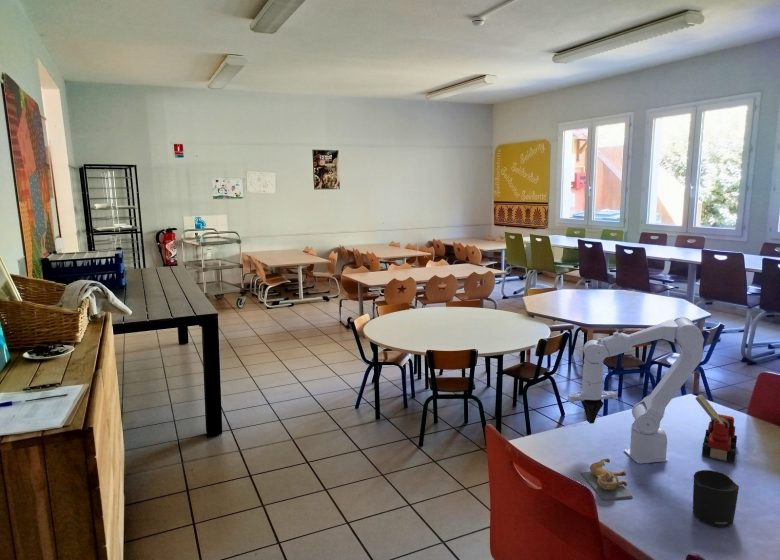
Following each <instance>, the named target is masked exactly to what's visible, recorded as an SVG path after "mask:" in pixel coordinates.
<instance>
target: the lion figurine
mask: <svg viewBox="0 0 780 560" xmlns="http://www.w3.org/2000/svg"><path fill="white" fill-rule="evenodd" d="M610 460H611V459H610V458H603V459H600V461H597V462H593V463H592V464H591V465H590V466H589V470H590V471H591V473H592V474H593V475H594V476H596V477H597V478H598V480H597V483H598V485H599V486H600V487H601V488H603V489H605V490H606V489H608V490H612V489H616V487H618V486H619V485H623V486H624V487H628V482H627V481H626V480H622V481H619V478H618V477H626V476H627V472H626V471H625V470H623V471H619V472H616V471H610V470H608V469H604V468H603V466H606V464H605V462H606V463H609V464H610V462H611V461H610Z"/></svg>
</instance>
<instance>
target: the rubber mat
mask: <svg viewBox="0 0 780 560" xmlns="http://www.w3.org/2000/svg"><path fill="white" fill-rule="evenodd" d="M580 475H581V476H582V477H583V479H584V480H585V481H586V482H587V484H589V485H590V487H591V488H592V489H593V490H594V491H595V492H596V494H598V496H599V497H600V498H601V499H602V500H603V501H612V500H623V499H632V498H633V494H632V493H631V492H630V491H629V490H628V489H626V486H624V485H619V486H618V487H616V489H612V490H608V489H606V490H605V489H603V488H601V487H600V486H599V485H598V483H597V480H598V478H597V477H596V476H594V475H593V474H592V473H591V470H590V471H581V472H580Z"/></svg>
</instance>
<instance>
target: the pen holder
mask: <svg viewBox="0 0 780 560" xmlns="http://www.w3.org/2000/svg"><path fill="white" fill-rule="evenodd" d="M739 488H740V486H739V484H737V483H736V482H735V481H734V480H732V479H731V477H729V476H728V475H727V474H725V473H722V472H720V471H716V470H713V469H712V470H709V469H702V470H697V471H696V472H695V473H694V474H693V489H692V513H693V515H694V517H696V519H697V520H698V521H700V522H701V523H703V524H706V525H708V526H711V527H715V528H728V527H730V526H732V524H733V523H734V521H735V514H736V508H737V501H738V497H739V496H738V494H739Z"/></svg>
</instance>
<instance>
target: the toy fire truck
mask: <svg viewBox="0 0 780 560" xmlns="http://www.w3.org/2000/svg"><path fill="white" fill-rule="evenodd" d="M695 400H696V402H697V403H698V404H699V405H700V406H701V408H702V409H703V410H704V412H706V414H707V415H708V416H709V417H710V421H709V423H708V427H707V429H706V430H705V434H704V438H703V443H702V448H701V449H702V450H701V456H702V457H707V458H712V459H716V460H720V461H724V462H725V461H726V462H727V463H733V464H734V463H735V461H736V452H737V440H738V436H737V435H735V433H736V426H735V418H734V417H733V416H732V415H731V416H730V415H724V414H719V413H717V411H716V410H715V409H714V407H713V406H712V405H711V403H710V402H709V401H708V400H707V399H706V397H705V396H704V395H703V394H700V395H697V396H696V397H695Z"/></svg>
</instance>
